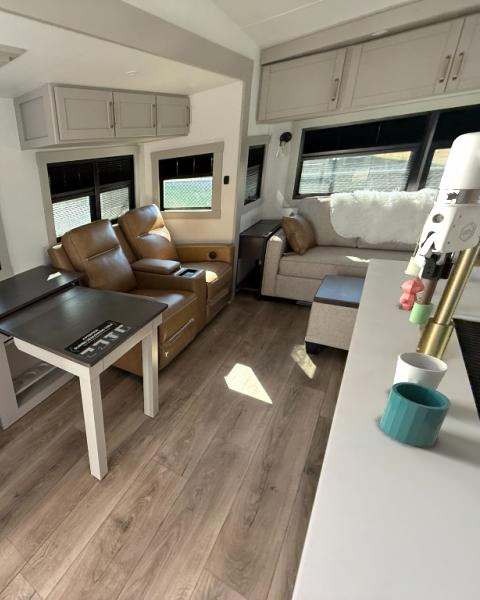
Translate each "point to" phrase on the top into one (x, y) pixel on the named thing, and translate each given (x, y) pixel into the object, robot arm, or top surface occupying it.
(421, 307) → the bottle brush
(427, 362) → the cup
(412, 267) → the lamp
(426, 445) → the tumbler
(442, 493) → the top surface
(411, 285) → the cat figurine
